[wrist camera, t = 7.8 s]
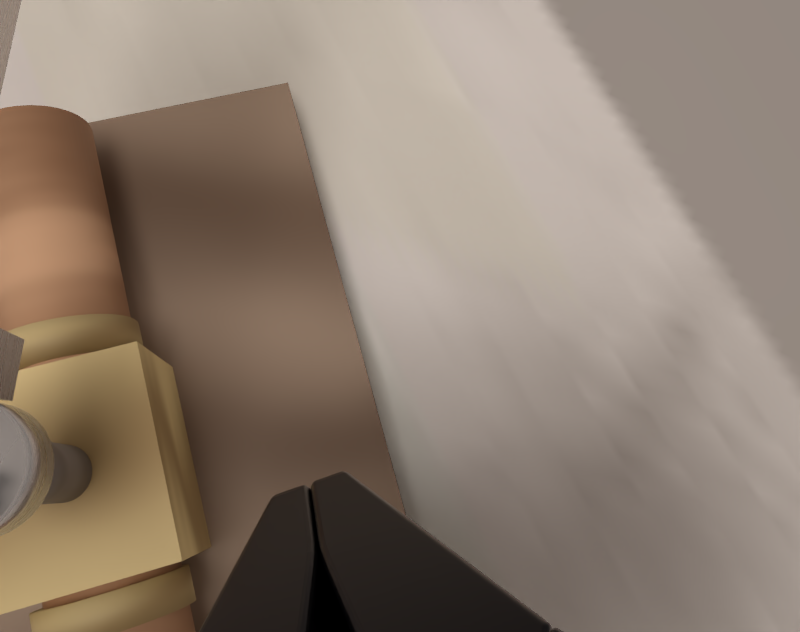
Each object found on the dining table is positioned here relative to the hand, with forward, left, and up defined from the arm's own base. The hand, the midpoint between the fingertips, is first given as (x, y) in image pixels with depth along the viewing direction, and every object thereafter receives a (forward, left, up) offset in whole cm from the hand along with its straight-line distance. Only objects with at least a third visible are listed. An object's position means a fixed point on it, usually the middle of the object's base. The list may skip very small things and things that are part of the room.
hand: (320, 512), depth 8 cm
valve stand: (+5, +3, -13) cm, 14 cm away
